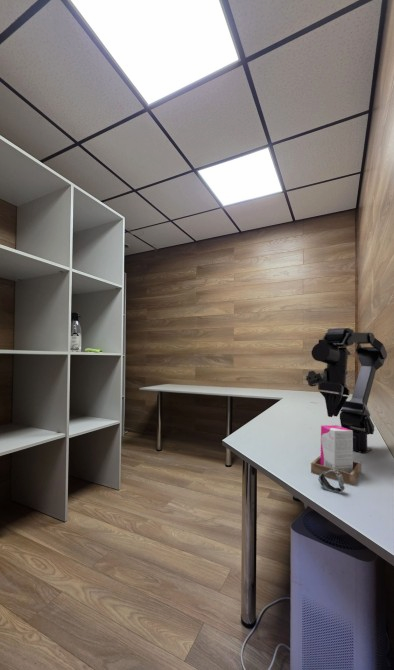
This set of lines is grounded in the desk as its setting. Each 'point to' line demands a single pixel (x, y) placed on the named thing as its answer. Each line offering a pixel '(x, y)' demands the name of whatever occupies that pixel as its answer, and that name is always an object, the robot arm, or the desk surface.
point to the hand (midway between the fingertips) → (332, 416)
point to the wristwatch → (327, 485)
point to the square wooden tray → (347, 477)
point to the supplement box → (337, 447)
